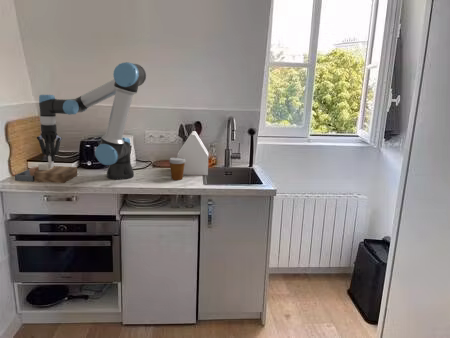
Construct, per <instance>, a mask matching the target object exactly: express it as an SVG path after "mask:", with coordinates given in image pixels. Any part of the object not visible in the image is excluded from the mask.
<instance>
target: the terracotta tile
mask: <svg viewBox="0 0 450 338" xmlns="http://www.w3.org/2000/svg"><path fill="white" fill-rule="evenodd" d="M28 169H29V171H30V175H31V176H33V175H34V172H36V171H38V170H39V167H38V165H37V166H32V167H30V168H28Z"/></svg>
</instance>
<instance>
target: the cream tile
mask: <svg viewBox="0 0 450 338" xmlns="http://www.w3.org/2000/svg"><path fill="white" fill-rule="evenodd" d="M37 166H38V167H39V170H50V169H52V168H49V164H48V162H41V163H38V165H37Z"/></svg>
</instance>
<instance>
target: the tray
mask: <svg viewBox="0 0 450 338" xmlns="http://www.w3.org/2000/svg"><path fill="white" fill-rule="evenodd" d="M29 169H30V168H28V169H26V170H24V171H22V172H19V173H17V174H14V181H18V182H19V181H20V182H35V180H34V175H33V176H31V175H30V171H29Z"/></svg>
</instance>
